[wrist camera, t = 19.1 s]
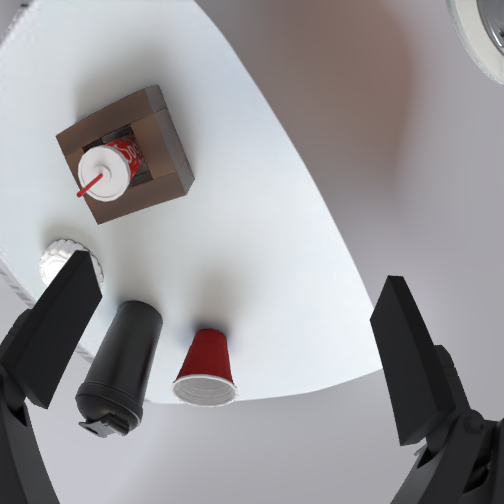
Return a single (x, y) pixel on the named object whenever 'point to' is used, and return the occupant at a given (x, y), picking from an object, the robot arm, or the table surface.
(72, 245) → the mooncake
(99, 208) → the holder
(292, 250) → the table surface
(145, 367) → the water bottle
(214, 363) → the plastic cup
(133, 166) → the beverage cup
